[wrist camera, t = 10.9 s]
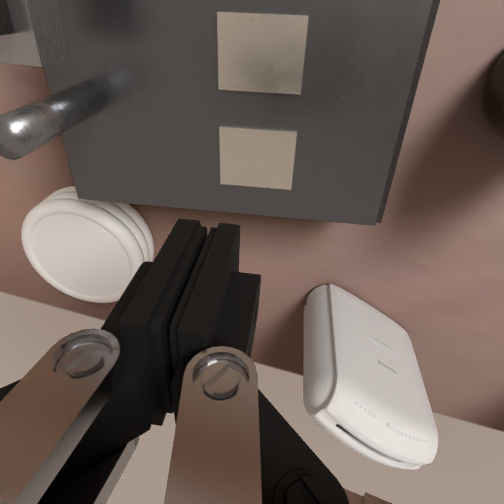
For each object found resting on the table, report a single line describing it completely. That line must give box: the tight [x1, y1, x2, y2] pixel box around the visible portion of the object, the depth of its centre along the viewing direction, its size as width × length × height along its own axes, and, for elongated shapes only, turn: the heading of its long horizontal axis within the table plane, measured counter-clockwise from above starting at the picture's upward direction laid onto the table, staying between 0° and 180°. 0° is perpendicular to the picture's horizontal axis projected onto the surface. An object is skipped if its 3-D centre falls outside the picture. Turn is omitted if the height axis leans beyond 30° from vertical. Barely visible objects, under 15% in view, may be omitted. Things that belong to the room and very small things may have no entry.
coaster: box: [21, 186, 154, 303], centre depth 31 cm, size 10×10×4 cm
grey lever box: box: [0, 0, 440, 226], centre depth 19 cm, size 18×12×12 cm, turn 88°
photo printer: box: [303, 284, 438, 470], centre depth 29 cm, size 10×4×12 cm, turn 56°
